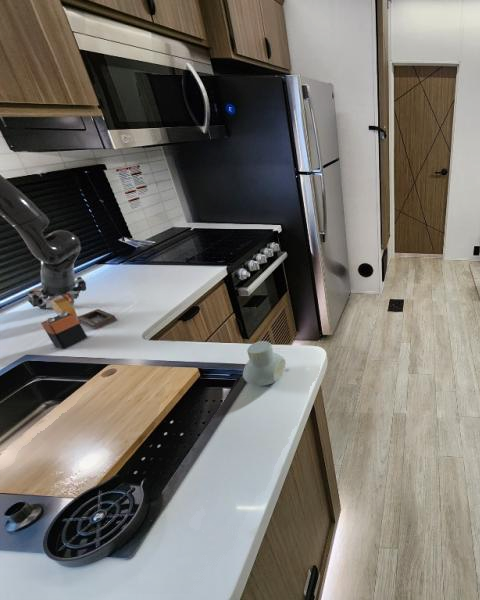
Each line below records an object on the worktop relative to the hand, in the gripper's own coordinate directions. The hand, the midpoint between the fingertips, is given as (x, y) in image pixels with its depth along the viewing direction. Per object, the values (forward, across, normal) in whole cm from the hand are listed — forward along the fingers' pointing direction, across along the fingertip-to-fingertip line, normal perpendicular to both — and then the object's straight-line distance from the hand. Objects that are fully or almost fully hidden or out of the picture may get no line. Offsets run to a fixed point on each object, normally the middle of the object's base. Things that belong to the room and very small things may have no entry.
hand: (58, 301), depth 115 cm
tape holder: (-3, -4, +13) cm, 14 cm away
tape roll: (+6, 0, +4) cm, 7 cm away
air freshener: (-58, -8, +68) cm, 90 cm away
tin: (+16, -2, -6) cm, 18 cm away
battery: (-8, +7, +19) cm, 22 cm away
